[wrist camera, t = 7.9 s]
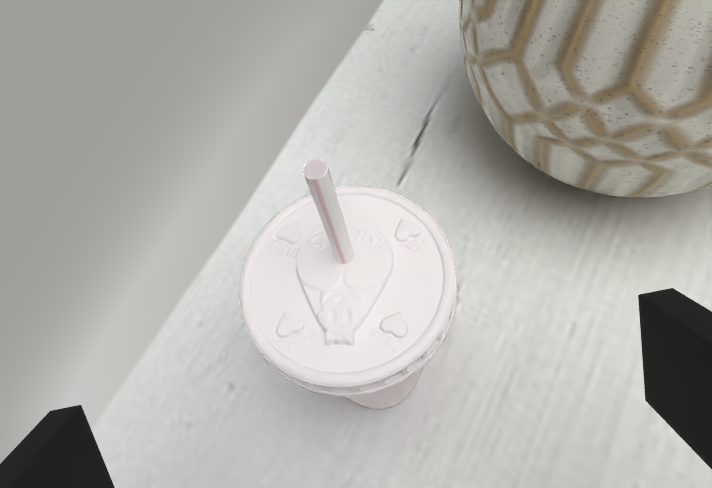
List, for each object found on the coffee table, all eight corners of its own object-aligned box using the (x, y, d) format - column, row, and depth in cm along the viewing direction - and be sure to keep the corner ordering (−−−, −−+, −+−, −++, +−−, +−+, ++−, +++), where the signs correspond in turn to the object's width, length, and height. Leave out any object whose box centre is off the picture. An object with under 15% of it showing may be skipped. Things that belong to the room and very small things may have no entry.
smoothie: (448, 298, 25) (459, 71, 12) (454, 445, 22) (474, 336, 9) (313, 299, 25) (198, 87, 13) (300, 440, 22) (136, 334, 10)
